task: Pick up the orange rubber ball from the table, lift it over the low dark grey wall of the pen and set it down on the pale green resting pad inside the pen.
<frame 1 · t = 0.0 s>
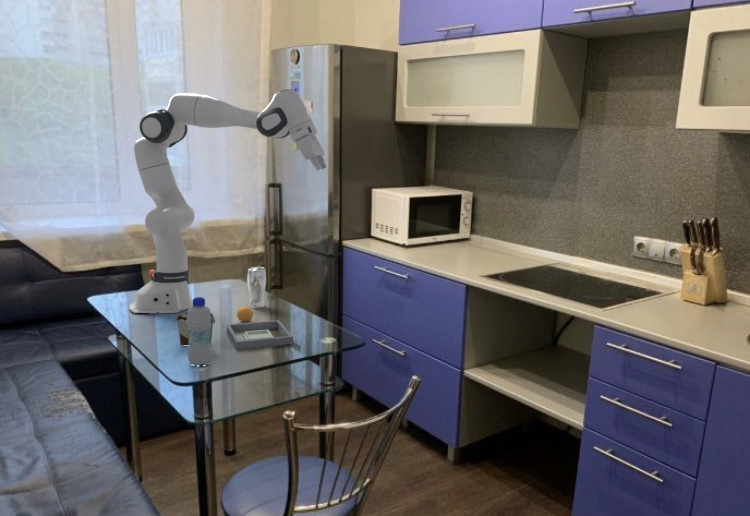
hand: (322, 169, 208), 54 cm above the table, tool tilted 30°, fingers open, 8 cm apart
bottle: (199, 365, 168), on the table
food container: (199, 344, 185), on the table
low wall pen: (258, 337, 193), on the table
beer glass: (256, 306, 228), on the table
resting pad: (258, 337, 193), resting in low wall pen
ball: (245, 314, 208), point 3 cm above the table
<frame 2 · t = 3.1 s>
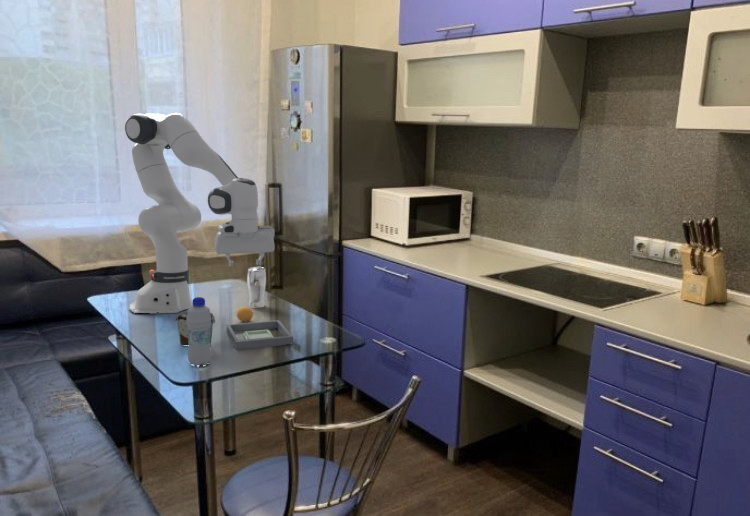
hand: (245, 265, 204), 20 cm above the table, tool pointing down, fingers open, 8 cm apart
nothing on the table moved.
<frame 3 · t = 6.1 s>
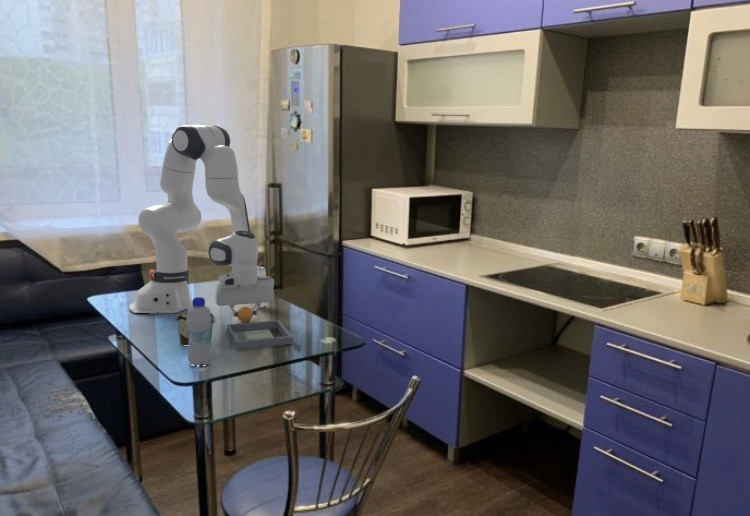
hand: (244, 315, 208), 2 cm above the table, tool pointing down, fingers closed on ball, 5 cm apart
ball: (245, 314, 208), point 3 cm above the table, touching gripper
everything else where it was.
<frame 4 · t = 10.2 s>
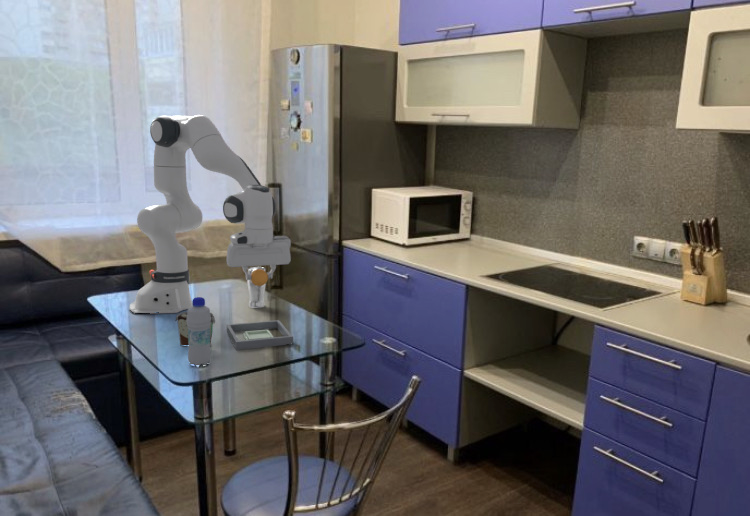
hand: (259, 278, 189), 20 cm above the table, tool pointing down, fingers closed on ball, 5 cm apart
ball: (259, 277, 189), point 20 cm above the table, touching gripper
everything else where it was.
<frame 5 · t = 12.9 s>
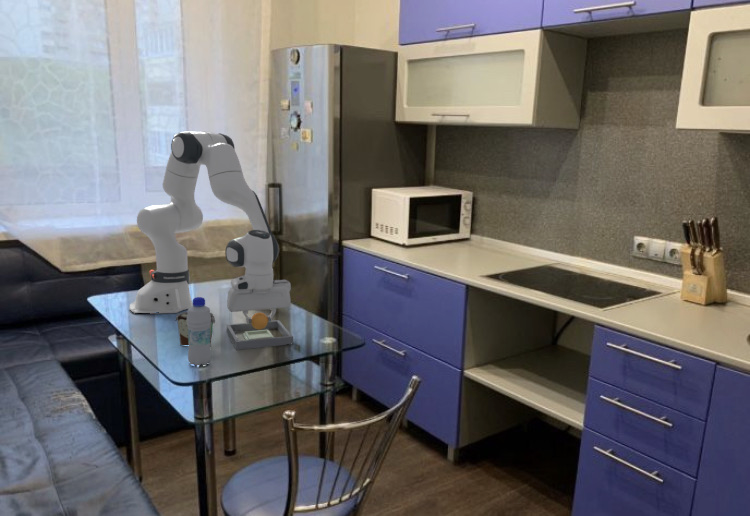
hand: (259, 322, 192), 5 cm above the table, tool pointing down, fingers closed on ball, 5 cm apart
ball: (259, 320, 191), point 6 cm above the table, touching gripper
everything else where it was.
when the fingers open (4 cm above the table, at t = 14.2 s): ball moves 2 cm, resting on resting pad.
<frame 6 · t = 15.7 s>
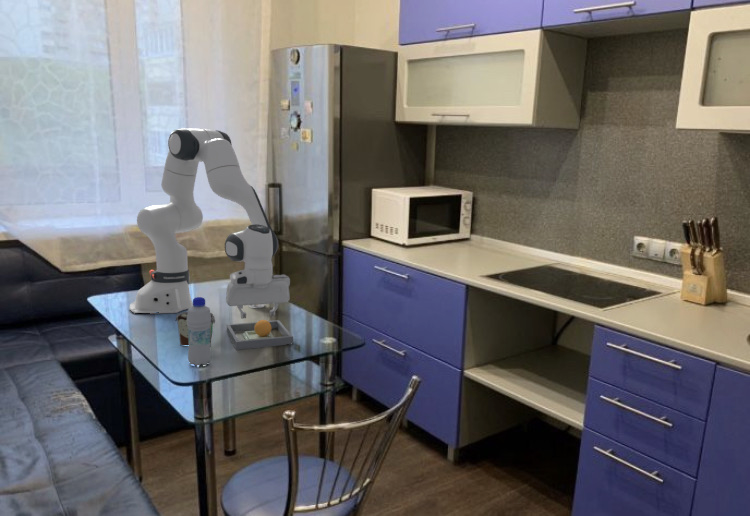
hand: (258, 316, 191), 7 cm above the table, tool pointing down, fingers open, 8 cm apart
ball: (262, 328, 193), point 3 cm above the table, tilted 28°, touching resting pad
everything else where it was.
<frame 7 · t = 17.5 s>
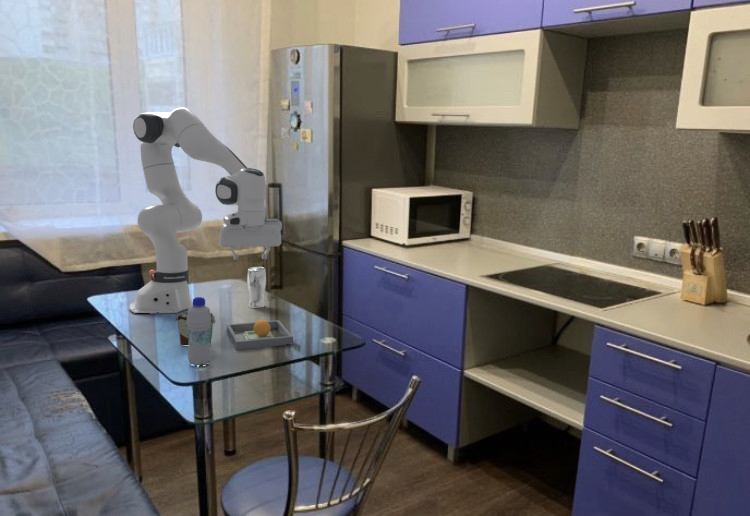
hand: (250, 259, 196), 24 cm above the table, tool pointing down, fingers open, 8 cm apart
ball: (262, 328, 192), point 3 cm above the table, tilted 22°, touching resting pad
everything else where it was.
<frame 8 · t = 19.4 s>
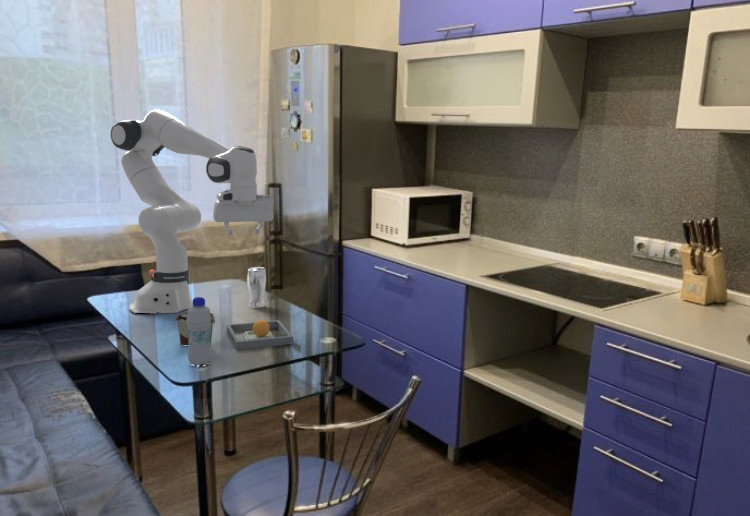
hand: (243, 234, 204), 31 cm above the table, tool pointing down, fingers open, 8 cm apart
ball: (261, 328, 192), point 3 cm above the table, tilted 16°, touching resting pad
everything else where it was.
at the end: ball 0.7 cm off-centre on the resting pad, point 3.1 cm above the resting pad's base; the gripper is holding nothing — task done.
